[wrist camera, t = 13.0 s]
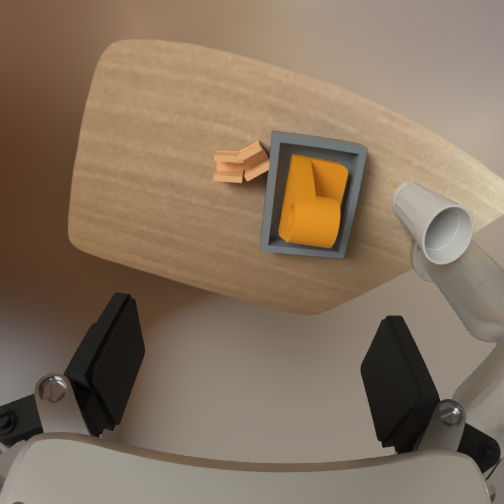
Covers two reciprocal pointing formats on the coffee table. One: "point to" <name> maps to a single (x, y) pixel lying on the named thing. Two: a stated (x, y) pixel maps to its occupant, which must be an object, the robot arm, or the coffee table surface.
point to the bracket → (312, 201)
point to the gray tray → (276, 181)
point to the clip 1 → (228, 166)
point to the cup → (433, 222)
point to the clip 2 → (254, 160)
